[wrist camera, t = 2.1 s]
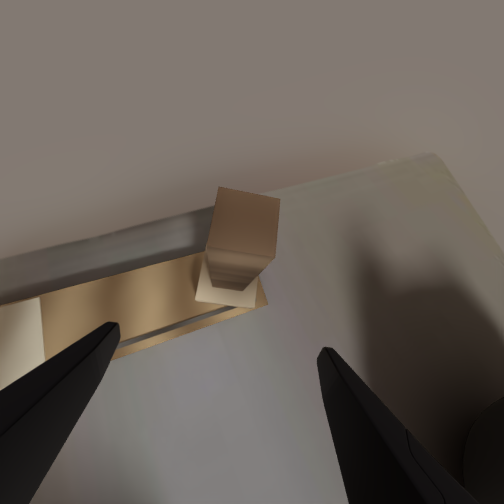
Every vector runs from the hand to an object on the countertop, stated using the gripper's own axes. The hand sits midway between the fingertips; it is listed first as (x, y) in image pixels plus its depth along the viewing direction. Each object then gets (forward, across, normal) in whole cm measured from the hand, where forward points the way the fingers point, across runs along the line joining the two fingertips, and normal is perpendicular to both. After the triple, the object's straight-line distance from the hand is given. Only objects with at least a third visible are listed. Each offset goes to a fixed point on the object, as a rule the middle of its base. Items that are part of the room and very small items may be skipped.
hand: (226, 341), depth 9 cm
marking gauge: (+10, 0, +4) cm, 11 cm away
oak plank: (+8, +9, +8) cm, 15 cm away
